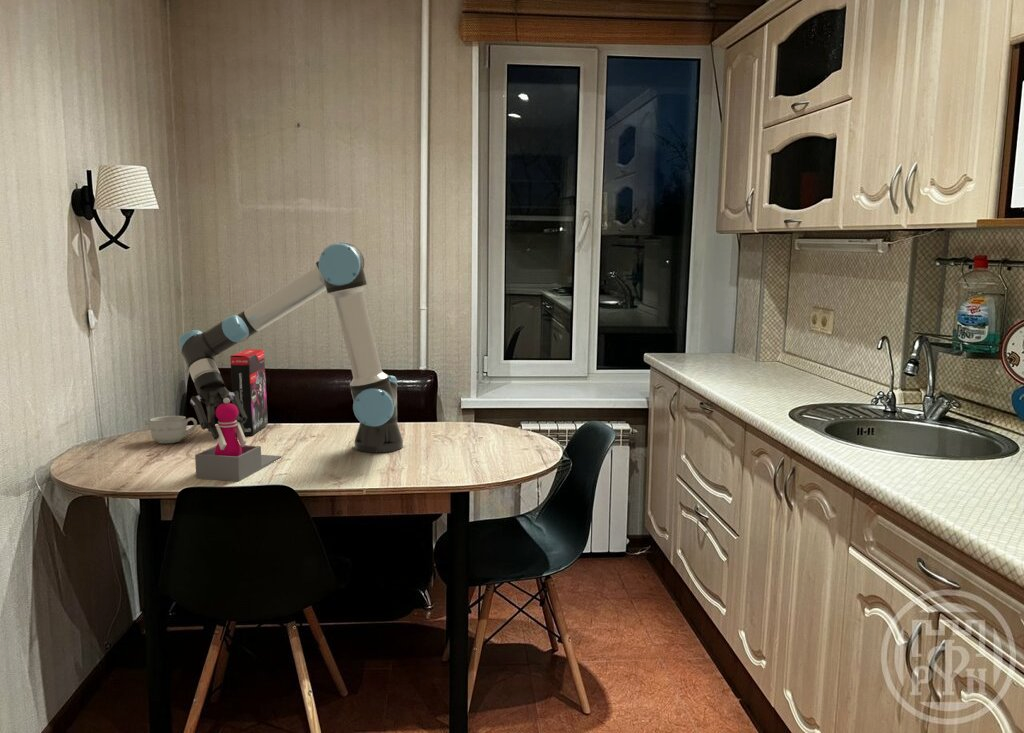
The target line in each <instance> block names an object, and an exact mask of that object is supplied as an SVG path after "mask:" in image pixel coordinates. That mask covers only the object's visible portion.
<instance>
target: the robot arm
mask: <svg viewBox="0 0 1024 733" xmlns="http://www.w3.org/2000/svg"><path fill="white" fill-rule="evenodd" d="M367 286H368V284H367V279H366V274H365V258H364V256H363V253H362V251H361V250H360V249H359V248H357V247H356V246H355V245H354V244H351V243H345V242H335V243H333V244H330V245H329V246H328V245H327V247H325V248H324V249H323V251H322V252H321V253H320V256H319V258H318V261H315V263H314V267H313V268H311V269H310V270H308V271H306V272H305V273H303V274H302V275H300V276H298V277H296V278H295V279H293V280H292V281H289V283H287V284H285V285H283V286H281V287H280V288H279V289H277V290H275V291H274V292H272V293H271V294H269V295H267V296H266V297H264V298H262V299H261V300H260V301H258V302H256V303H254V304H253V305H251V306H250V307H248V308H246V309H244V310H242V311H241V312H240V313H238V314H233V315H231V316H228V317H226V318H224V319H223V320H222V321H220V322H219V323H217V324H215V325H214V326H212V327H210V328H209V329H208V330H206V331H201V330H197V329H193V330H191V331H186V332H184V333H183V334H182V335H181V336H180V337H179V340H178V344H179V345H178V346H179V348H180V353H181V355H182V357H183V359H184V362H185V365H186V366H187V370H188V372H189V374H190V377H191V380H192V381H193V385H194V387H195V389H196V392H197V395H192V396H191V398H190V401H189V404H190V405H191V406H192V407H193V409H194V411H195V415H196V416H197V420H198V422H199V425H200V428H201V429H202V430H207V431H208V432H210V433H211V436H212V439H214V440H216V441H217V443H219V446H220V449H221V450H224V449H225V447H226V445H227V444H226V442H225V439H224V436H223V434H222V431H221V429H220V426H219V425H218V424H216V414H215V411H216V410H215V408H216V407H218V406H219V405H221V404H223V403H224V402H223V399H224V398H229V399H230V402H232V403H231V404H234V405H235V406H236V407H237V408H238V412H239V413H238V416H237V418H236V419H235V420H237V422H236V423H237V425H236V426H235V433H236V438H237V440H238V442H239V444H240V445H241V447H244V446H245V445H246V443H247V442H248V440H247V439H246V436H244V434H245V428H244V426H243V424H244V423H245V422H246V420H247V415H246V413H245V411H244V408H243V406H242V404H241V402H240V399H239V392H238V391H235V392H234V393H232V392H231V391H230V390H228V389H227V387H226V385H225V382H224V380H223V378H222V375H221V372H220V370H219V368H218V366H217V363H216V361H215V357H216V356H217V355H220V354H221V353H222V352H225V351H226V350H228V349H230V348H232V347H234V346H235V345H237V344H239V343H243V342H244V341H246V340H248V339H250V337H252V336H253V335H255V334H257V333H258V332H259V331H261V330H263V329H264V328H267V327H268V326H270V325H271V324H273V323H274V322H276V321H277V320H279V319H281V318H282V317H284V316H286V315H287V314H289V313H290V312H293V311H294V310H296V309H297V308H299V307H301V306H302V305H304V304H305V303H306V302H307V303H308V302H309V301H310V300H312V299H314V298H316V297H317V296H318V295H320V294H322V293H324V292H325V291H326V293H327V295H329V296H330V297H332V298H333V301H334V303H335V307H336V312H337V315H338V321H339V324H340V328H341V332H342V337H343V341H344V344H345V349H346V353H347V358H348V361H349V366H350V370H351V374H352V380H351V381H350V383H349V388H350V393H351V396H352V400H353V404H352V410H353V413H354V416H355V418H356V419H357V420H358V421H359V426H358V428H357V432H356V435H355V439H354V449H355V450H356V451H359V452H365V453H388V452H389V453H390V452H395V451H399V450H401V449H402V448H403V447H404V444H403V443H404V440H403V437H402V434H401V431H400V427H399V424H398V388H397V387H398V381H397V380H398V379H397V377H396V376H394V375H389V374H387V373H385V372H384V371H383V369H382V366H381V360H380V357H379V353H378V349H377V344H376V340H375V335H374V331H373V327H372V324H371V320H370V315H369V314H370V313H369V311H368V306H367V301H366V297H365V294H364V292H365V290H366V288H367ZM202 403H203V404H205V405H206V406H205V407H206V411H207V415H206V413H205V410H204V407H203V404H202Z"/></svg>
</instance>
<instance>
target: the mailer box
mask: <svg viewBox="0 0 1024 733" xmlns="http://www.w3.org/2000/svg"><path fill="white" fill-rule="evenodd" d="M216 446H217V444H216V445H214V446H212V447H209V448H207V449H205V450H202V451H200V452H198V453H196V454H195V455H194V459H195V461H194V462H195V479H199V480H215V481H229V482H240V481H242V480H244V479H246V478H248V477H250V476H251V475H253V474H255V473H257V472H258V471H261V470H263V469H264V468H266V467H268V466H269V464H270V465H271V463H272V464H273V463H275V462H277V461H279V460H280V458H281V457H282V455H274V454H273V455H272V454H271V455H270V454H262V448H261V447H262V446H259V445H246V444H245V446H244V447H241V449H242V454H241V455H239V456H220V455H215V448H216ZM240 446H241V445H240ZM278 459H279V460H278ZM281 459H282V458H281ZM276 460H277V461H276ZM274 461H275V462H274Z"/></svg>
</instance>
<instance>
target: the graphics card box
mask: <svg viewBox="0 0 1024 733" xmlns="http://www.w3.org/2000/svg"><path fill="white" fill-rule="evenodd" d="M265 362H266V360H265V350H263V349H259V348H258V349H255V348H251V349H250V348H246V349H245V350H242V351H240V352H237V353H234V354H230V370H231V371H230V373H231V374H230V375H231V391H232V393H234V392H235V391H238V392H239V399H240V402H241V404H242V406H243V408H244V411H245V413H246V415H247V420H246V422H245V423H244V424H243V426H244V428H245V434H244V436H245V437H246V436H247V437H248V436H254V435H256V434H257V433H258V432H260V431H262V429H263V428H265V427H266V426H267V425H268V424H269V423H268V422H269V421H268V403H267V402H268V401H267V400H268V399H267V385H266V384H267V382H266V364H265ZM235 434H236V433H235Z"/></svg>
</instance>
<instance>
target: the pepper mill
mask: <svg viewBox="0 0 1024 733" xmlns="http://www.w3.org/2000/svg"><path fill="white" fill-rule="evenodd" d="M223 402H224V403H223V404H221V405H219V406H216V407H215V410H214V411H215V418H217V419H218V421H217V425H219V426H220V429H221V431H222V434H223V436H224V439H225V442H226V444H227V445H226V447H225V449H224V450H221V449H220V446H219V443H218V442H217V444H216V445H217V446H216V445H215V446H216V448H215V455H220V456H239V455H241V454H242V449H241V446H240V442H239V440H238V438H237V435H236V434H235V426H236V425H237V423H236V422H237V420H235V419H236V418H237V416H238V413H239V412H238V408H237V407H236V406H235V405H234V404H233V403H231V400H230V397H227V398H224V399H223Z"/></svg>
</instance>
